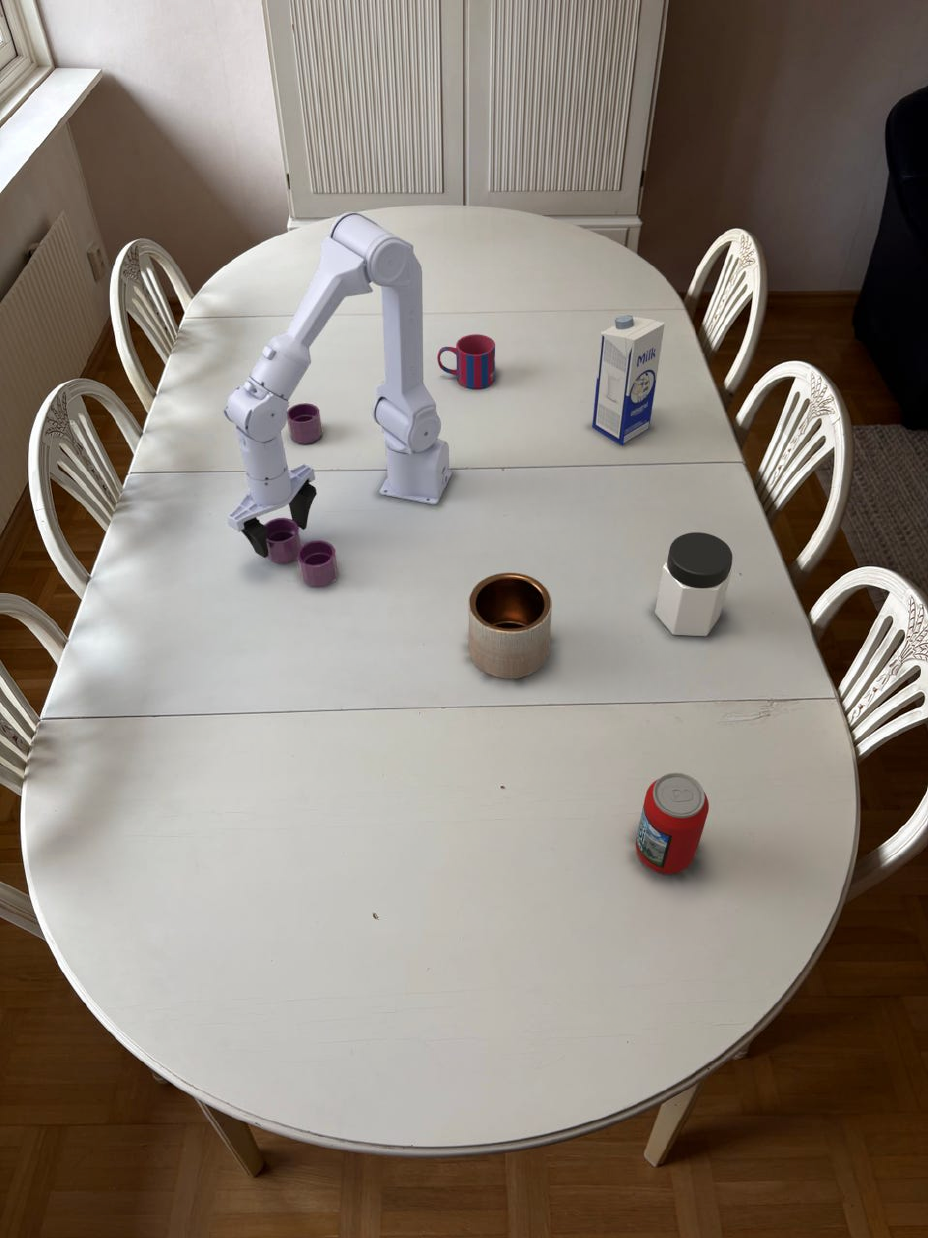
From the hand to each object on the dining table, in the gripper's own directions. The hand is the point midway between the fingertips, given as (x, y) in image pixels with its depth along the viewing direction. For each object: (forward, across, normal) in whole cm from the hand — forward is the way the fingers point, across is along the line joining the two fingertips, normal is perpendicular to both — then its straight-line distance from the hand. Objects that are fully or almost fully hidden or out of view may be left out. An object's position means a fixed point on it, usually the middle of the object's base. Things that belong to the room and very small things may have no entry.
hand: (281, 539), depth 146 cm
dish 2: (+2, -22, -18) cm, 28 cm away
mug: (+3, -51, -8) cm, 52 cm away
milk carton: (+3, -56, +22) cm, 60 cm away
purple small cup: (+3, 0, +8) cm, 8 cm away
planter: (+3, -6, +38) cm, 38 cm away
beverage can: (+3, +6, +70) cm, 70 cm away
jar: (+3, -27, +53) cm, 59 cm away
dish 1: (+3, 0, 0) cm, 3 cm away
